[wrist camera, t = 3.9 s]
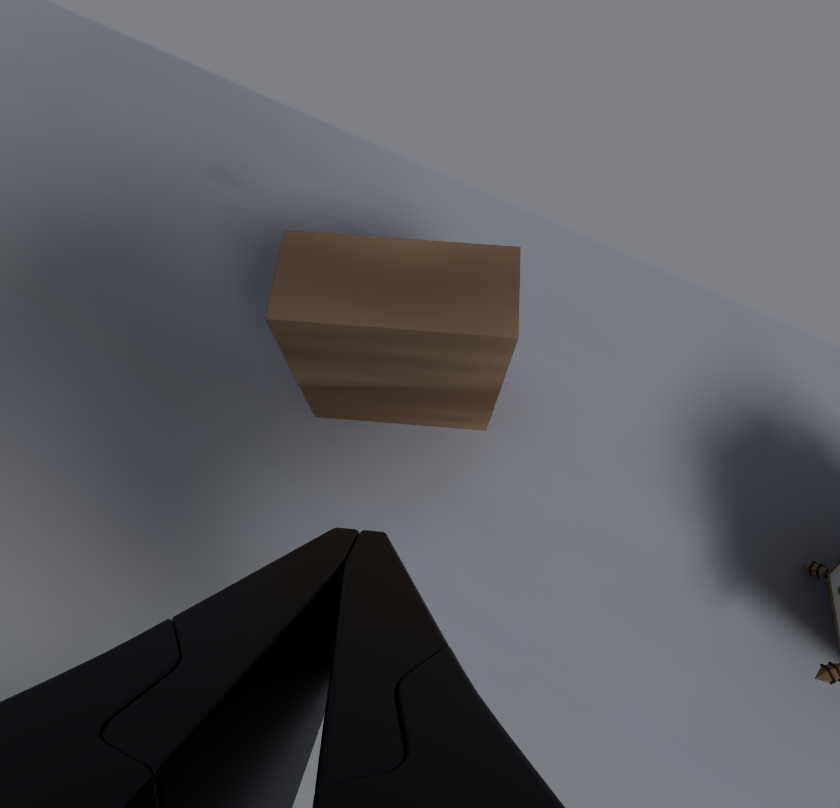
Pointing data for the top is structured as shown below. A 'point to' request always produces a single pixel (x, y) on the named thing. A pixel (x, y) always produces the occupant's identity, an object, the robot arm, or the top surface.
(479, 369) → the walnut block
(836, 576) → the game die
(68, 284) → the top surface
